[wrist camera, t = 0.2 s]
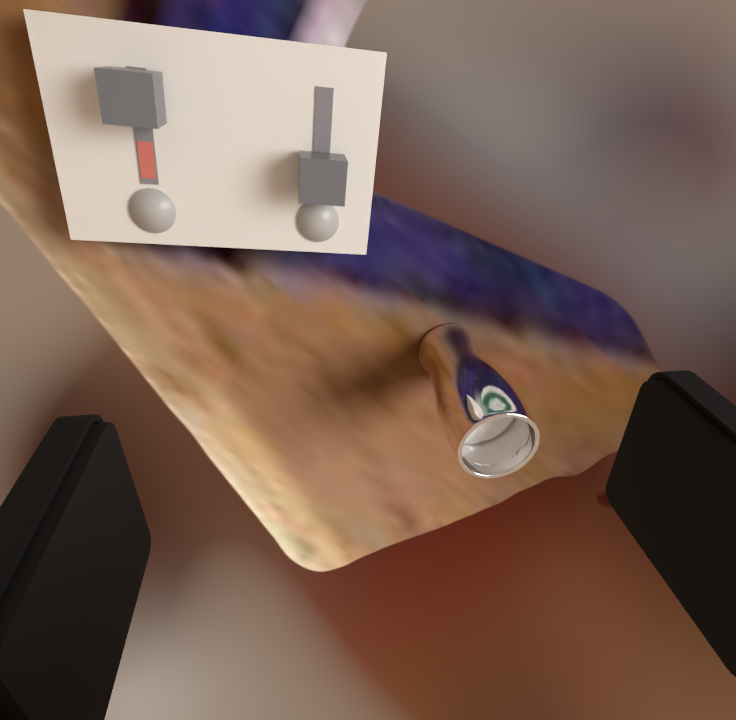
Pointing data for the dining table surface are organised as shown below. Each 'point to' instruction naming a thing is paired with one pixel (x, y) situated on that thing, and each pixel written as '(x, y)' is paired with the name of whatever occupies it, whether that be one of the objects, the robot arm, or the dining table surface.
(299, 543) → the dining table surface
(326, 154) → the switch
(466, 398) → the beer glass
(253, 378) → the dining table surface
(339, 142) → the switch panel
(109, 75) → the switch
